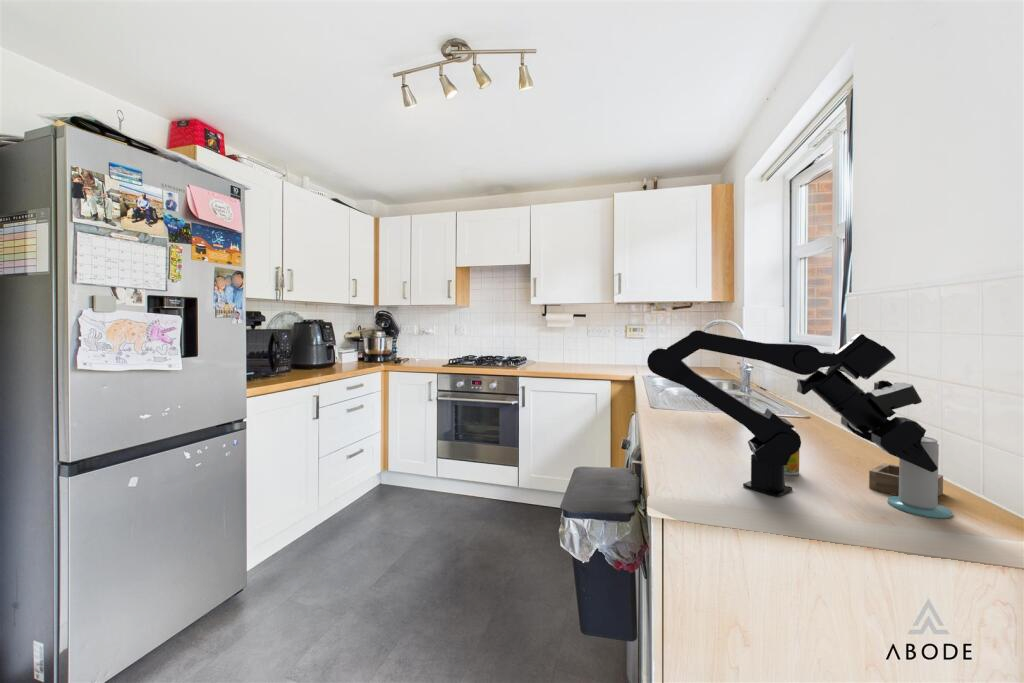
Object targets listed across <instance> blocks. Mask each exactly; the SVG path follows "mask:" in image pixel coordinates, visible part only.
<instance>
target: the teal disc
mask: <svg viewBox="0 0 1024 683" xmlns="http://www.w3.org/2000/svg"><path fill="white" fill-rule="evenodd" d="M887 503H888V504H889V505H890V506H891V507H894V509H897V510H899V511H902V512H905V513H908V514H912V515H916V516H920V517H926V518H932V519H941V518H945V519H950V517H951V518H952V517H953V511H952V510H951V509H949V508H948V507H946V506H944V505H942V504H939V503H937V507H936V508H935V509H933V510H924V509H918V508H914V507H911V506H908V505H905V504H904V503H902V502H901V501H900V499H899V495H893V496H889V497H887Z"/></svg>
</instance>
